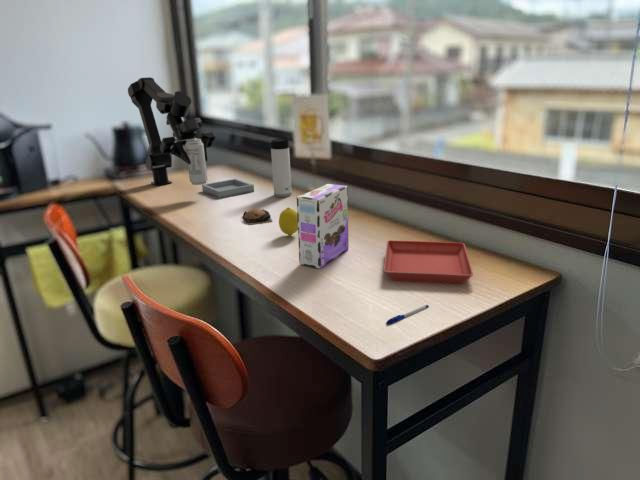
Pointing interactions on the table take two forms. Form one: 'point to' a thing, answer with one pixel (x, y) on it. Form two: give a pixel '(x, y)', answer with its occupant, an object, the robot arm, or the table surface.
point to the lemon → (288, 221)
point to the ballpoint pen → (405, 315)
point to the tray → (227, 188)
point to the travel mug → (281, 167)
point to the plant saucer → (427, 261)
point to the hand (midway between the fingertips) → (198, 162)
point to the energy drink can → (196, 161)
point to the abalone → (256, 216)
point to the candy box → (322, 225)
